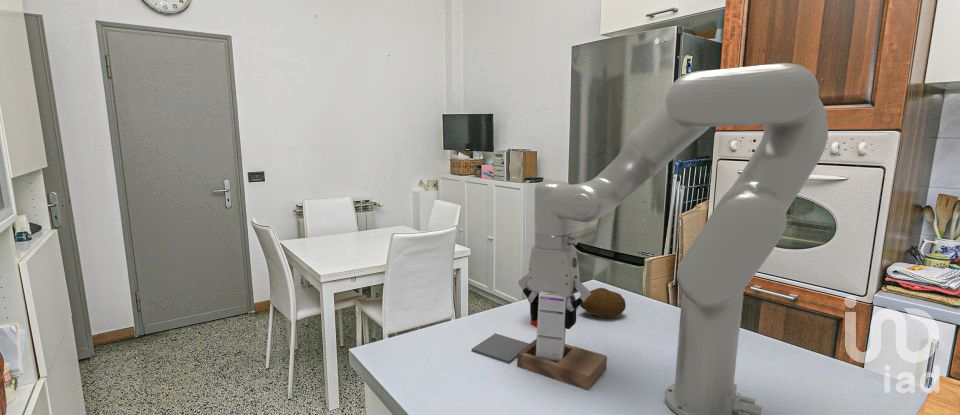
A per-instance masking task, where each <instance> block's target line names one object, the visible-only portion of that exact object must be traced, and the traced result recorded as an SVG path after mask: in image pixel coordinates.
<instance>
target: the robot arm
mask: <svg viewBox="0 0 960 415" xmlns="http://www.w3.org/2000/svg"><path fill="white" fill-rule="evenodd" d="M819 89H820V88H819V83H818V79H817V78H816V77H815V75H814V74H813V72H812V71H811V70H810V69H807V67H805V66H802V65H800V64H796V63H789V62H781V63H779V62H777V63H771V64H769V63H768V64H758V65H750V66H742V67H741V66H740V67H739V66H738V67H731V68H730V67H729V68H721V69H718V68H717V69H709V70H708V69H706V70H697V71H692V72H689V73H686V74H684V75H682V76H680V77H679V78H677V79H676V80H675V81H674V82H672V84H671V86H670V87H669V88H668V91H667V93H666V96H665V100H664V101H663V102H662V103H660V105H659V106H657V108H655V110H653V111H652V112H651V113H650V114H649V115H648V116H647V117H646V118H645V119H644V120H643V121H641V123H639V125H637V126H635V128H634V129H633V130H632V131H631V132H630V133H629V134H628V135H627V137H626V139H625V140H624V142H623V147H622V149H621V151H620V152H619V153H618V155H617V156H616V157H615V158H614V159H613V160H612V161H611V163H609V164H608V165H607V166H606V167H605V168H604V169H603V170H602V171H600V173H599V174H598V175H596V176H595V177H593V179H591V180H589V181H585V182H581V183H576V184H570V183H569V182H568V181H563V180H546V181H545V180H544V181H541V182H537V184H536V185H535V187H534V245H533V246H531V247H532V248H531V252H530V256H529V263H528V273H527V274H526V275H524V276H523V277H522V278H520V279H519V280H518V281H517V284H518V286H519V287H520V288H521V290H522V293H523V294H524V295H525V297H526V298H527V301H528V303H529V310H530V311H529V313H530V321H531V320H532V321H535V320H537V319H538V303H539V293H540V292H541V291H545V292H550V293H555V294H558V295H561V296H562V297H565V298H566V306H567V308H568V309H567V310H566V311H565V328H566V330H570V329H571V328H573V326H574V325H576V323H577V308H579V306H580V305H581V304H582V303H583V302H584V301H585V300H586V299H587V298H588V297H589V296H590V295H591V292H590V291H591V290H589V289H588V288H587V287H586V286H585V285H584V284H583V283H582V282H581V280H580V269H579V267H580V266H579V259H578V254H577V250H576V248H575V247H572V246H577V245H578V242H579V239H578V238H575V237H573V233H572V232H573V231H572V230H573V229H572V228H573V226H572V224H573V221H575V222H579V223H591V222H594V221H596V220H599V219H601V217H604V216H606V215H607V214H609V213H610V212H612V211H613V210H615V209H616V208H617V207H618V206H619V205H621V204H622V203H623V202H624V201H625V200H626V199H627V198H629V197H630V196H632V194H634V193H635V192H636V191H637V190H638V189H639V188H640V187H642V186H643V185H644V184H645V183H646V182H648V180H649V179H651V178H652V177H654V176H655V175H656V174H658V173H659V172H660V171H661V170H662V169H663V168H664V167H666V166H667V165H668V164H669V163H670V162H671V161H673V160H674V159H675V158H676V157H677V156H678V155H679V154H680V153H682V152H683V151H684V150H685V149H686V148H687V147H688V146H690V145H691V144H692V143H694V142H695V140H698V138H699V137H700V136H702V135H703V134H705V132H707V131H708V130H709V129H710V128H711V127H712V128H713V127H714V128H715V127H718V128H719V127H743V126H744V127H745V126H763V135H762V138H761V140H760V141H759V143H758V145H757V147H756V148H755V150H754V152H753V153H752V155H751V156H750V159H749V160H748V162H747V163H746V165H745V166H744V169H742V171H741V173H740V175H738V178H737V179H736V181H735V182H734V183H733V185H732V186H731V188H729V189H728V190H727V191H726V192H725V194H724V195H722V197H721V198H720V199H719V201H718V203H717V204H716V206H715V207H714V209H713V211H712V212H711V214H710V215H709V217H708V219H707V220H706V222H705V224H704V225H703V226H702V229H700V231H699V233H698V234H697V236H696V237H695V239H694V241H693V242H692V243H691V245H690V246H689V248H688V249H687V250H686V252H685V254H684V256H683V257H682V259H681V261H680V263H679V265H678V266H677V272H676V280H677V285H678V287H679V289H680V292H681V293H682V294H681V303H680V304H681V305H680V315H679V316H680V317H679V324H678V338H677V339H678V340H677V348H676V349H677V351H676V352H677V353H676V365H675V378H674V383H673V384H671V385H668V387H667V388H666V389H665V392H664V401H665V403H666V405H667V406H668V407H669V408H670V410H672V412H674V413H675V414H677V415H742V413H743V414H747V415H762V408H763V407H762V406H761V405H758V404H756V403H755V402H756V401H755V400H756V399H755V398H752V397H748V396H744V395H742V394H741V393H738V392H737V390H738V385H737V384H735V374H736V367H737V366H736V365H737V354H738V345H739V335H740V330H741V328H740V327H741V321H742V320H741V319H742V317H741V316H742V312H743V311H742V309H743V299H744V293H745V292H744V291H745V289H746V288H747V286H748V284H749V283H750V282H751V281H752V280H753V278H754V276H755V275H757V272H759V270H760V268H761V267H762V266H763V264H764V263H765V262H766V260H767V258H768V257H769V256H770V255H771V254H772V252H773V250H774V249H775V248H776V247H777V245H778V243H779V241H780V239H781V238H782V236H783V234H784V232H785V229H786V225H787V212H788V210H789V208H790V206H791V205H792V203H793V202H794V200H795V199H796V197H797V196H798V195H799V193H800V192H801V190H802V189H803V187H804V185H806V182H807V181H808V179H809V177H810V176H811V174H812V172H813V171H814V170H815V168H816V167H817V165H818V163H819V161H820V159H821V158H822V157H823V156H822V155H823V153H824V151H825V149H826V146H827V142H828V138H829V137H828V135H829V121H828V114H827V111H826V108H825V106H824V104H823V102H822V100H821V99H820V97H819V92H820V90H819ZM576 293H579V296H578V297H576V296H575V294H576Z"/></svg>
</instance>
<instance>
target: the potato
mask: <svg viewBox="0 0 960 415" xmlns="http://www.w3.org/2000/svg"><path fill="white" fill-rule="evenodd" d="M589 291H590V292H591V295H590V296H589V297H588V298H587V299H586V300H585V301H584V302H583V303H582V304H581V305H579V306H580V308H581V309H583V310H584V311H585V312H587V313H588V314H592V315H595V316H598V317H600V318H604V319H605V318H606V319H607V318H609V319H610V318H611V319H612V318H615V317H618V316H620V315H621V314H622V313H624V311H625V310H626V307H627V306H626V299H625V298H624V297H623V296H622V295H621V294H620V293H619V292H615V291H612V290H609V289H607V288H605V287H604V288H603V287H598V288H595V289H592V290H589Z"/></svg>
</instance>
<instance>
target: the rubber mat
mask: <svg viewBox="0 0 960 415" xmlns="http://www.w3.org/2000/svg"><path fill="white" fill-rule="evenodd" d="M530 343H531V342H530ZM530 343H529V342H526V341H522V340H519V339H516V338H514V337H513V338H512V337H510V336H505V335H502V334H498V333H496V332H495V333H493V334H492V335H491V336H489V337H488V338H486V339H485V340H483V341H481V342H480V343H478V344H476V345H475V346H474V347H472V348H471V352H473V353H476V354H477V355H478V354H479V355H481V356H485V357H488V358H491V359H493V360H497V361H499V362H503V363H506V364H511V363H512V362H513V361H515V360H517V353H518V352H520V351H521V350H522V349H524V348H525V347H526V346H528V345H529V344H530ZM514 359H515V360H514Z"/></svg>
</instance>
